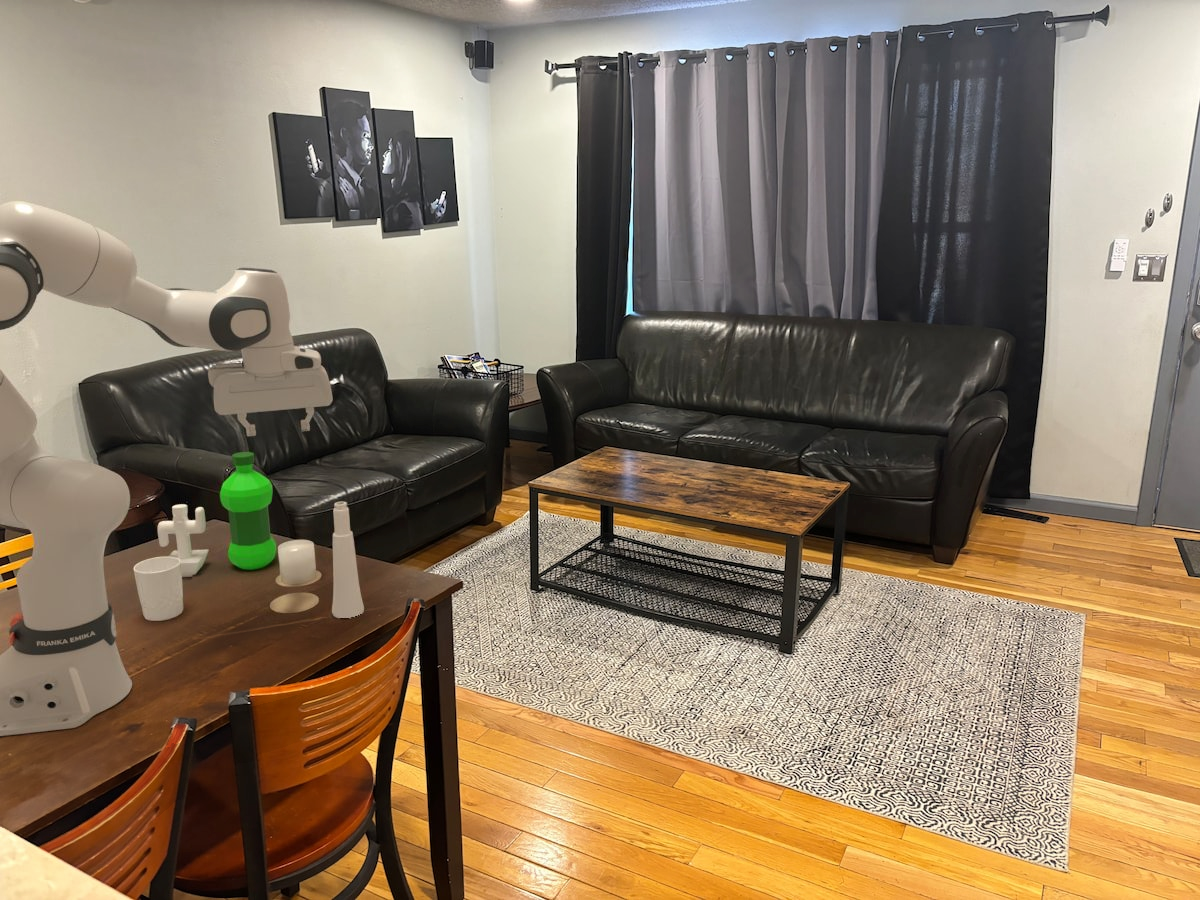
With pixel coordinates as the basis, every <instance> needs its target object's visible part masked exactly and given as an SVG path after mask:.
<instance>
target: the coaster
mask: <svg viewBox="0 0 1200 900" xmlns="http://www.w3.org/2000/svg"><path fill="white" fill-rule="evenodd" d="M321 578H322V573H321V572H320V571H319V570H317V569H316V578H315V579H314V580H312V581H310V582H307V583H303V584H294V585H293V584H285V583H283V582H282V581H281V577H280V574H279V575H277V576H276V578H275V583H276V584H277V585H279V586H281V587H285V588H286V587H289V588H293V587H294V588H296V587H304V586H307V585H310V584H311V585H312V584H313V583H316V582H317V581H319V580H320V579H321Z"/></svg>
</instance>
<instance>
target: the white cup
mask: <svg viewBox="0 0 1200 900" xmlns="http://www.w3.org/2000/svg"><path fill="white" fill-rule="evenodd" d="M132 568H133V573H134V580H135V584H136V589H137V594H138V599H139V601H140V605H141V609H142V615H143V617H144V619H145V620H147V621H150V622H160V621H162V622H163V621H167V620H171V619H173V618H177V617H178V616H179V615H181V614H182V613H183V611H184V599H183V596H184V595H183V594H184V591H183V577H182V573H181V561H180V559H178V558H176V557H168V556H157V557H152V558H147V559H145V560H142V561H139V562H138V563H136V564H135V565H134V566H133V567H132Z"/></svg>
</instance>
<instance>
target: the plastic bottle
mask: <svg viewBox="0 0 1200 900" xmlns="http://www.w3.org/2000/svg"><path fill="white" fill-rule="evenodd" d="M231 459H232V465H233V466H235V471H234V472H233V473H232V474H230V476H229V477H228V478H227V479H225V481H224V482H222V485H221V487H220V488H221V489H220V492H219V498H220V503H221V505H222V507H224V508H225V509H226V510H227V511H228V512H227V513H228V520H229V529H230V530H229V531H230V537H231V538H230V539H231V541H230V543H229V547H228V551H227V557H228V559H229V562H231V564H233V566H236V567H237V568H239V569H241V570H245V571H248V570H250V571H253V570H258V569H263V568H264V567H266V566H268V565H269V564H270V563H272V562H273V560H274V559H275V557H276V553H277V542H276V541H275V539H274V537H273V536H272V534H271V527H270V526H271V525H270V516H269V505H271V503H272V499H273V493H274V492H273V484H272V482H271V481H270V479H268V478H267V477H266V476H264V475H263V474H261V473H260V472H258V471H256V470H255V469H253V464H255V454H254V452H251V451H242V452H235V453H233V454H232V455H231Z"/></svg>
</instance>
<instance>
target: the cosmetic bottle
mask: <svg viewBox="0 0 1200 900" xmlns="http://www.w3.org/2000/svg"><path fill="white" fill-rule="evenodd" d="M347 505H348V502H346V501H337V502H334V505H333V506H334V508H333V511H332V513H333V526H334V532H333V533H332V567H333V568H332V569H333V570H332V571H333V576H332V577H333V583H332V584H333V588H332V590H333V593H332V594H333V595H332V606H331V613H332V614H331V615H332V616H333V617H334V618H336V619H340V618H349V619H352V618H351V617H354V618H356V617H355V616H357V617H359V616H361V615H362V614H363V613H364V611H365V606H364V602H363V599H362V598H363V597H362V594H361V593H362V592H361V588H360V581H359V574H358V573H359V572H358V566H357V558H356V557H357V555H356V548H355V540H354V534H353V531H352V530H351V525H350V524H351V523H350V508H349V507H348V506H347ZM360 614H361V615H360ZM358 615H359V616H358Z"/></svg>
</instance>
